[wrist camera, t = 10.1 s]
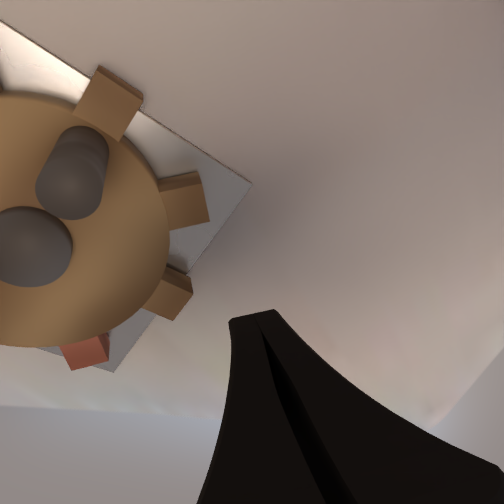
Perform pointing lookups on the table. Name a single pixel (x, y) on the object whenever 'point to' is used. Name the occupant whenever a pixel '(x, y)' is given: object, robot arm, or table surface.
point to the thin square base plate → (153, 149)
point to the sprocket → (84, 221)
